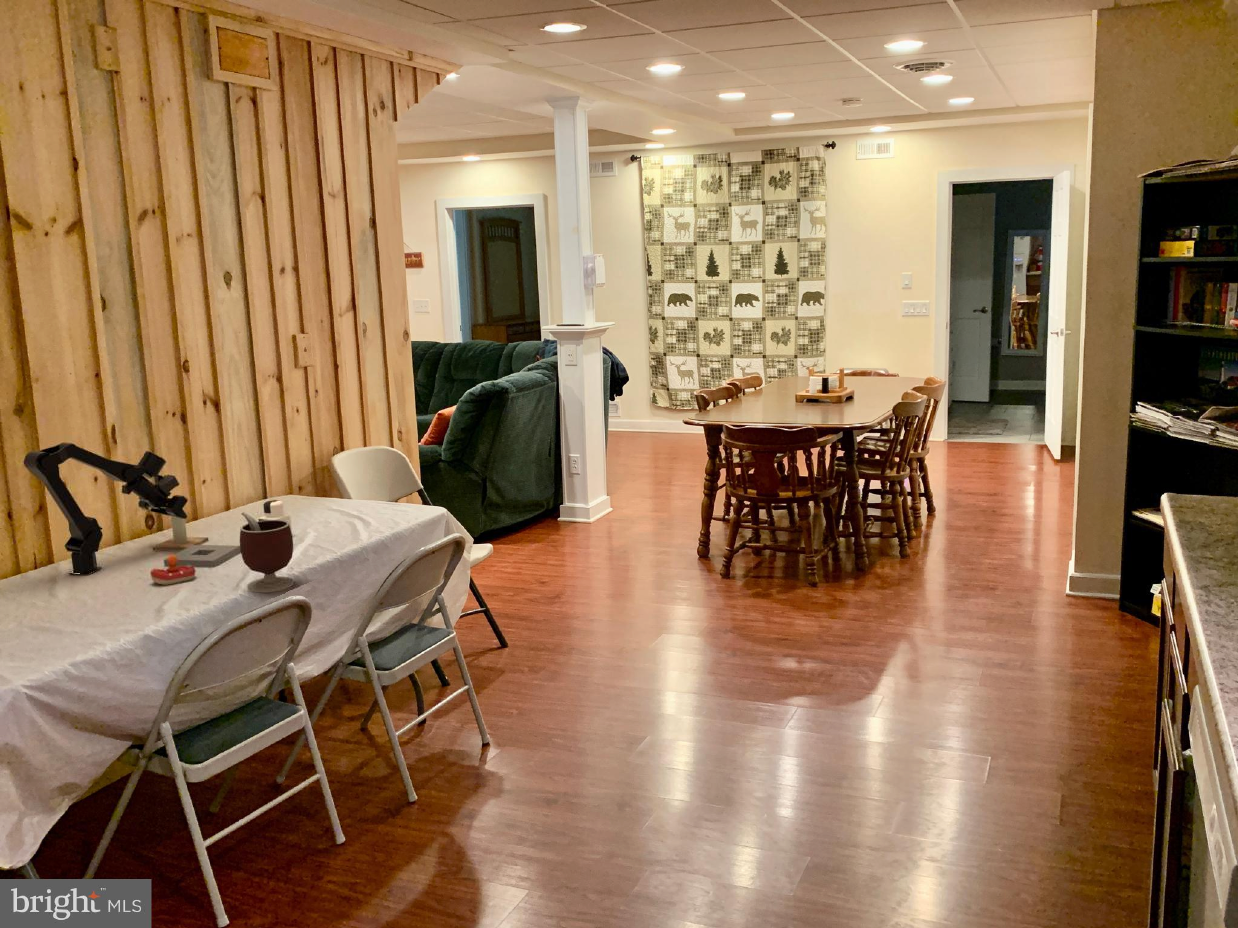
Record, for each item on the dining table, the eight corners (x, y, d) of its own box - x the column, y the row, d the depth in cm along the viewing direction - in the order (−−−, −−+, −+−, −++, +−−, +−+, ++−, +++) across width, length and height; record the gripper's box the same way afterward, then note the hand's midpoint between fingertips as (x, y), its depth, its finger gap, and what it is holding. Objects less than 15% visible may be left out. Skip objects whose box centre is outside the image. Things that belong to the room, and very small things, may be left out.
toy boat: (148, 582, 303) (145, 556, 302) (191, 574, 310) (188, 548, 309) (156, 588, 297) (152, 562, 296) (199, 579, 304) (196, 554, 303)
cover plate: (214, 567, 316) (213, 560, 315) (164, 566, 318) (163, 559, 318) (241, 551, 331) (240, 545, 331) (193, 550, 334) (193, 544, 333)
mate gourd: (307, 581, 299) (301, 512, 295) (268, 596, 287) (261, 523, 283) (268, 574, 307) (262, 506, 303) (229, 588, 295) (221, 518, 291)
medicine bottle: (260, 539, 346) (256, 502, 343) (276, 533, 352) (273, 498, 349) (276, 541, 342) (272, 504, 340) (292, 535, 349) (289, 499, 346)
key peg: (188, 542, 340) (183, 503, 337) (174, 544, 338) (170, 504, 336) (186, 540, 343) (182, 500, 341) (173, 542, 342) (168, 502, 339)
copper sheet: (187, 550, 334) (187, 547, 334) (152, 550, 336) (152, 547, 336) (208, 540, 346) (208, 537, 346) (174, 539, 348) (174, 536, 348)
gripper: (178, 471, 328) (213, 498, 339) (142, 465, 338) (177, 492, 349) (158, 501, 323) (194, 528, 334) (122, 495, 333) (158, 521, 344)
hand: (181, 516), depth 340 cm, fingers open, 5 cm apart
